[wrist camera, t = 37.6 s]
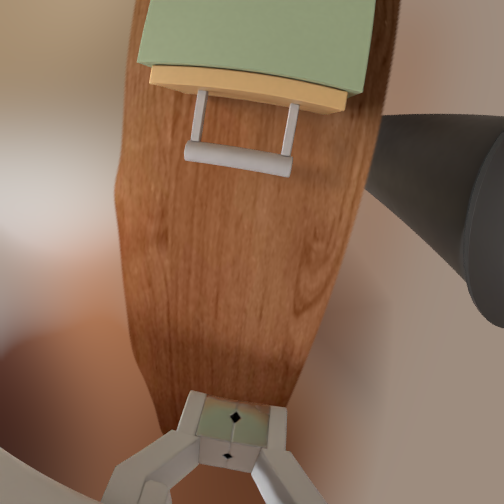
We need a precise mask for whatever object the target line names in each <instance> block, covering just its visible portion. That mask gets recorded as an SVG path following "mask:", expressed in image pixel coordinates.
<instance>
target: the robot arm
mask: <svg viewBox="0 0 504 504" xmlns="http://www.w3.org/2000/svg"><path fill="white" fill-rule="evenodd" d="M286 425H287V409H286V408H285V407H277V406H270V405H266V404H259V403H252V402H246V401H239V400H238V401H236V400H231V399H227V398H222V397H218V396H214V395H209V394H205V393H201V392H197V391H192V390H191V391H190V393H189V395H188V398H187V401H186V404H185V407H184V410H183V413H182V416H181V419H180V422H179V425H178V428H177V431H174V430H171V431H170V432H168V433H167V434H165V435H164V436H162V437H161V438H159V439H158V440H156V441H155V442H153V443H152V444H150V445H149V446H147V447H146V448H144V449H143V450H141V451H140V452H138V453H136V454H135V455H133V456H132V457H130V458H129V459H127V460H125V461H124V462H122V463H120V464H119V465H117V466H116V467H115V469H114V472H113V474H112V476H111V479H110V481H109V483H108V485H107V488H106V490H105V492H104V495H103V497H102V500H101V502H99V501H96V500H94V499H92V498H90V497H87V496H85V495H83V494H81V493H79V492H76V491H74V490H72V489H70V488H68V487H66V486H64V485H62V484H60V483H58V482H56V481H55V480H53V479H51V478H49V477H47V476H45V475H43V474H42V473H40V472H38V471H37V470H35V469H33V468H31V467H30V466H28V465H26V464H25V463H23V462H22V461H20V460H18V459H17V458H15V457H14V456H12V455H11V454H9V453H8V452H6V451H5V450H3V449H2V448H1V447H0V504H172V501H171V495H170V488H172V487H173V486H174V485H176V484H177V483H178V482H179V481H180V480H181V479H183V478H184V477H185V476H186V475H187V474H188V473H190V472H191V471H192V470H193V469H194V468H195V467H196V466H197V465H198V463H200V464H205V465H210V466H216V467H222V468H228V469H232V470H238V471H243V472H249V473H251V475H252V477H253V479H254V480H255V483H256V485H257V487H258V489H259V490H260V493H261V495H262V496H263V498H264V500H265V502H266V503H267V504H327V502H326V501H325V500H324V499H323V497H322V496H321V494H320V493H319V492H318V490H317V489H316V487H315V486H314V485H313V483H312V482H311V480H310V479H309V478H308V476H307V475H306V473H305V472H304V471H303V469H302V468H301V466H300V465H299V463H298V462H297V461H296V459H295V458H294V456H293V455H292V453H291V452H290V451H286V427H287V426H286Z"/></svg>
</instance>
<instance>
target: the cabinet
mask: <svg viewBox="0 0 504 504" xmlns="http://www.w3.org/2000/svg"><path fill="white" fill-rule="evenodd" d="M375 5H376V0H151V1H150V5H149V9H148V13H147V17H146V21H145V26H144V30H143V35H142V39H141V44H140V49H139V54H138V59H137V62H138V63H141V64H144V65H146V66H149V67H152V65H177V66H196V67H209V68H220V69H230V70H239V71H242V70H244V71H252V72H259V73H265V74H272V75H278V76H283V77H289V78H294V79H299V80H304V81H306V82H310V83H315V84H319V85H324V86H328V87H332V88H336V89H340V90H344V91H347V92H348V97H347V98H349V97H352V96H354V95H357V94H360V93H362V92H363V88H364V83H365V77H366V71H367V64H368V58H369V51H370V44H371V37H372V30H373V22H374V14H375Z"/></svg>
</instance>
